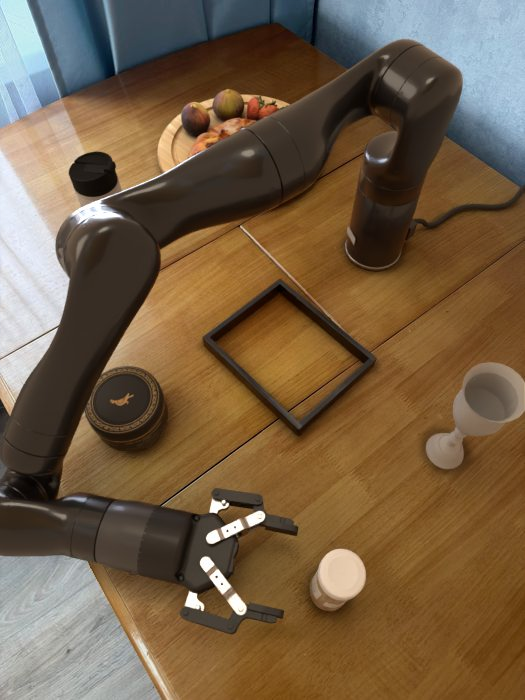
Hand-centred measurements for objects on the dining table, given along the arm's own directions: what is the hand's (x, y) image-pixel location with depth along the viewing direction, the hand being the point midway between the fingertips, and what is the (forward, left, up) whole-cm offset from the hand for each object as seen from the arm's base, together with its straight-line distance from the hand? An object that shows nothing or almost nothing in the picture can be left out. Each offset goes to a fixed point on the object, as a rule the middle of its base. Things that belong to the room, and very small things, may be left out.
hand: (291, 571), depth 57 cm
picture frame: (-22, -22, -7) cm, 32 cm away
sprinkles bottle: (-3, +4, -7) cm, 9 cm away
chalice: (-27, +3, -7) cm, 28 cm away
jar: (+1, -29, -7) cm, 30 cm away
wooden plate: (-47, -60, -7) cm, 76 cm away
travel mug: (-15, -54, -7) cm, 56 cm away
